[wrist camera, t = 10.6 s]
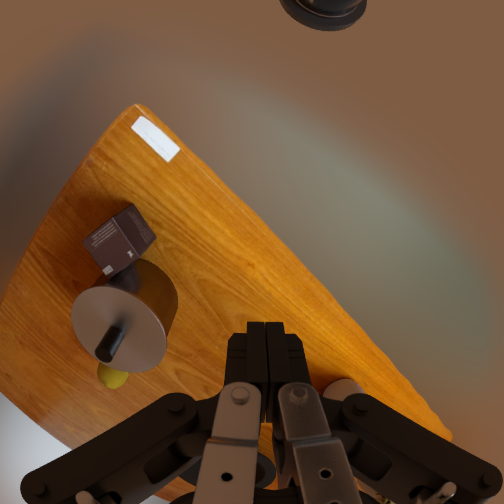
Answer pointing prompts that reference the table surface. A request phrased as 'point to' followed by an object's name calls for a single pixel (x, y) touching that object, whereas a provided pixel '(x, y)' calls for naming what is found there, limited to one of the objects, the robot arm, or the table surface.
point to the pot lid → (118, 328)
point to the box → (119, 241)
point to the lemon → (111, 376)
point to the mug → (342, 389)
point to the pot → (147, 288)
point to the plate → (262, 476)
